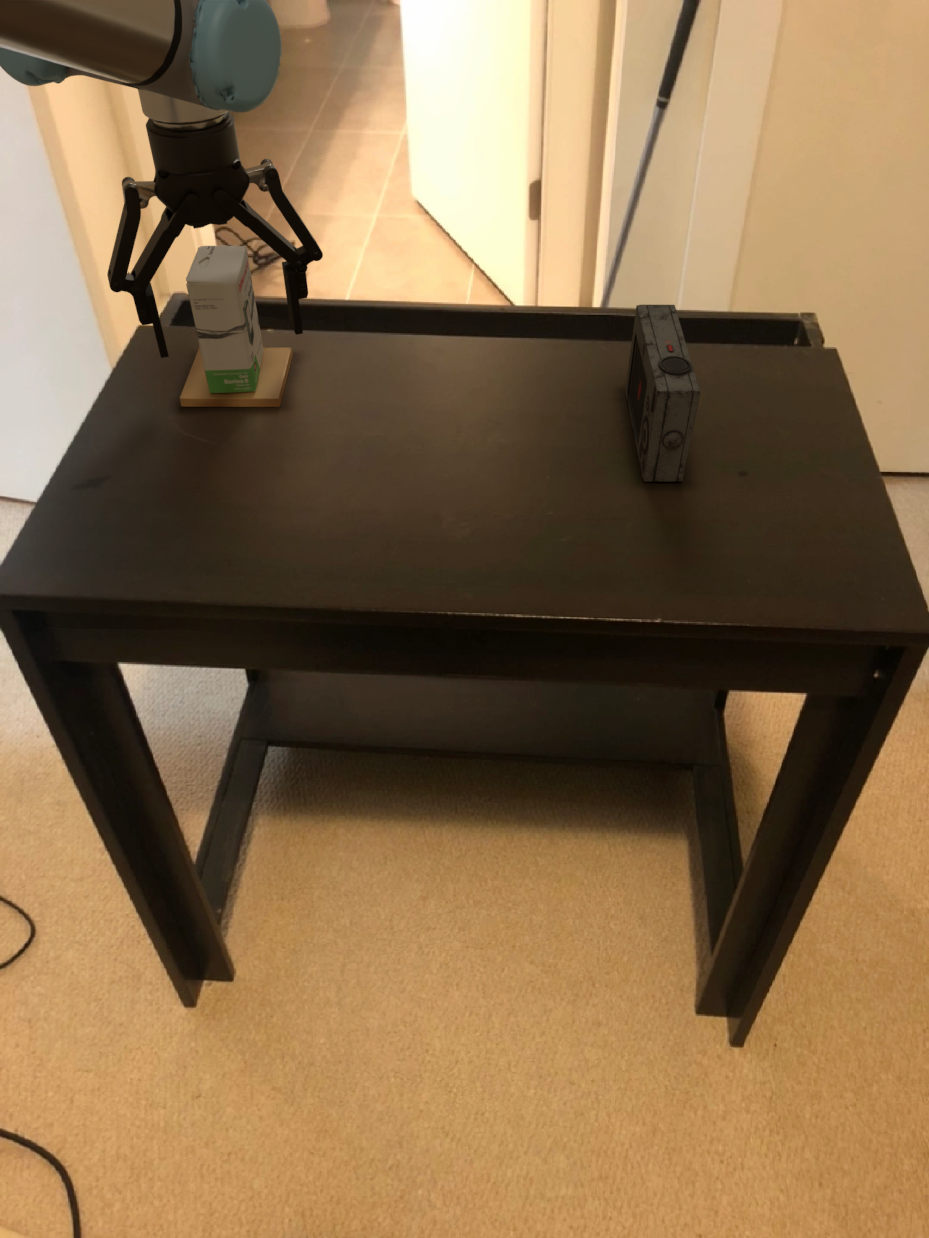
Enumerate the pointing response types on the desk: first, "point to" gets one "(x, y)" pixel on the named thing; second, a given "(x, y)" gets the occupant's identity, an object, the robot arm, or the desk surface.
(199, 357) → the cork mat
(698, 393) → the camera
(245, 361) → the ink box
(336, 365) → the desk surface
